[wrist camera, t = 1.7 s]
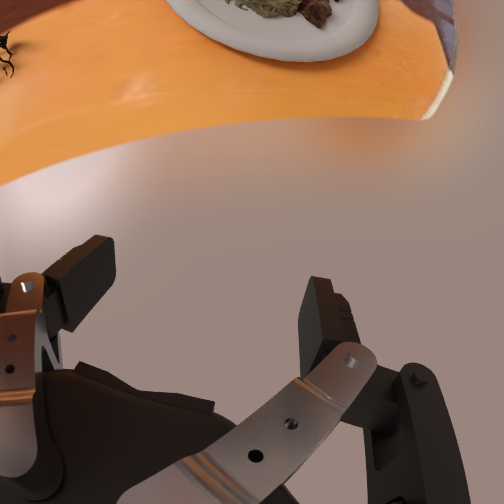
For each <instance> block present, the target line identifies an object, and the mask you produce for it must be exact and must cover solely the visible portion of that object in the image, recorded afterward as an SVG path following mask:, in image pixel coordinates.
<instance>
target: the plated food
mask: <svg viewBox="0 0 504 504" xmlns="http://www.w3.org/2000/svg"><path fill="white" fill-rule="evenodd" d="M166 1H167V2H168V4H169V5H170V6H171V8H172V9H173V11H174V12H175V13H177V14H178V15H179V16H180V17H181V18H182V19H183V20H184V21H185V22H187V23H188V24H189V25H190V26H192V27H193V28H195V29H196V30H198V31H200V32H201V33H203V34H204V35H206V36H207V37H209V38H211V39H213V40H215V41H218V42H220V43H222V44H224V45H227V46H229V47H231V48H233V49H236V50H239V51H243V52H246V53H249V54H252V55H255V56H259V57H264V58H270V59H275V60H281V61H290V62H315V61H324V60H331V59H334V58H337V57H340V56H343V55H347V54H349V53H350V52H352V51H354V50H355V49H357V48H358V47H360V46H362V45H363V44H364V43H365V42H366V41H367V39H368V38H369V37H370V36H371V35H372V33H373V31H374V29H375V27H376V25H377V22H378V15H379V3H378V0H166Z"/></svg>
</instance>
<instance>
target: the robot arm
mask: <svg viewBox="0 0 504 504" xmlns="http://www.w3.org/2000/svg"><path fill="white" fill-rule="evenodd" d="M115 277H116V265H115V249H114V241H113V239H112V238H110V237H105V236H100V235H94V236H93V237H91V238H90V239H89V240H87V241H86V242H85V243H84V244H82V245H79V246H77V247H74V248H73V249H71V250H70V251H69V252H68V253H66V255H64V256H63V257H61V258H60V260H57V261H56V262H55V263H54V264H52V265H51V266H50V267H49V268H48V269H46V270H45V271H44V272H43V273H42V274H39V273H35V272H31V273H30V272H29V273H25V274H22V275H20V276H18V277H17V278H16V279H15V280H14V281H13V282H12V283H2V282H1V278H0V504H299V502H298V501H297V500H296V499H295V498H294V496H293V495H292V494H291V493H290V491H288V489H287V488H286V486H285V485H284V484H285V483H286V482H287V481H288V480H289V479H290V478H291V477H292V476H293V475H294V474H295V473H296V472H297V471H298V469H300V467H301V466H302V465H303V464H304V463H305V462H306V461H307V460H308V459H309V457H310V456H311V455H312V454H313V453H314V452H315V450H316V449H317V448H318V447H319V446H320V445H321V444H322V442H323V441H324V440H325V439H326V438H327V437H328V435H329V434H330V433H331V432H332V431H333V429H334V428H335V427H336V426H337V424H338V423H339V422H340V421H342V422H345V423H348V424H351V425H354V426H358V427H361V428H363V433H364V444H365V456H366V471H367V489H368V504H471V502H470V496H469V490H468V485H467V480H466V476H465V471H464V467H463V462H462V458H461V454H460V451H459V447H458V443H457V439H456V436H455V432H454V429H453V426H452V422H451V419H450V416H449V413H448V410H447V407H446V404H445V401H444V398H443V395H442V392H441V389H440V387H439V384H438V381H437V379H436V376H435V375H434V373H432V371H431V370H429V369H428V368H427V367H425V366H424V365H421V364H418V363H408V364H406V365H404V366H403V367H402V369H401V371H400V372H397V371H394V370H391V369H388V368H385V367H382V366H379V365H378V364H377V360H376V357H375V355H374V354H373V353H372V351H371V350H369V349H368V348H367V347H365V346H363V345H361V342H360V338H359V335H358V332H357V328H356V325H355V322H354V321H353V319H354V318H353V315H352V313H351V309H350V306H349V303H348V301H347V300H346V299H345V298H344V297H343V296H342V294H338V293H334V290H333V286H332V283H331V280H330V279H326V278H320V277H314V276H311V277H310V279H309V282H308V285H307V289H306V292H305V295H304V298H303V302H302V305H301V308H300V312H299V318H298V333H299V353H300V376H301V378H300V377H297V378H295V379H294V380H292V381H291V382H290V383H289V384H288V385H286V386H285V387H284V388H283V389H282V390H281V391H280V392H278V393H277V394H276V395H275V396H274V397H273V398H271V399H270V400H269V401H268V402H266V403H265V404H264V405H263V406H262V407H260V408H259V409H258V410H257V411H255V412H254V413H253V414H252V415H250V416H249V417H248V418H246V419H245V420H244V421H243V422H242V423H240V424H239V425H235V424H234V423H233V422H231V421H230V420H228V419H227V418H225V417H223V416H221V415H219V414H217V413H215V412H214V405H215V402H214V401H210V400H205V399H200V398H196V397H191V396H187V395H183V394H179V393H165V392H150V391H140V390H137V389H135V388H133V387H131V386H130V385H128V384H126V383H125V382H123V381H122V380H120V379H118V378H117V377H115V376H114V375H112V374H111V373H109V372H107V371H104V370H101V369H99V368H96V367H94V366H91V365H89V364H86V363H83V362H81V361H79V363H78V364H77V366H76V367H75V369H74V370H73V369H63V363H62V352H61V340H60V335H59V331H60V329H61V328H62V329H64V330H67V331H69V332H73V331H74V330H75V329H76V328H77V326H78V325H79V324H80V322H81V321H82V320H83V319H84V318H85V316H86V315H87V314H88V313H89V312H90V311H91V309H92V308H93V307H94V306H95V304H96V303H97V302H98V301H99V300H100V299H101V298H102V296H103V295H104V294H105V293H106V292H107V290H108V289H109V288H110V287H111V286H112V285H113V283H114V280H115Z"/></svg>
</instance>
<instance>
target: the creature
mask: <svg viewBox="0 0 504 504" xmlns="http://www.w3.org/2000/svg"><path fill="white" fill-rule="evenodd" d="M9 32H10V31H9ZM9 32H8V33H9ZM8 33H7V34H6V35H5V36H0V42H1V43H0V47H1V48H3V49H6V50H7V52H8V54H10V58H11V56H12V53H11V52H9V51H8V49H7V46H6V44H7V38H8ZM10 58H9V61H6V60H2V58H1V57H0V61H2V62H5V63H9V64H10V66H11V67H12V68H13V73H14V67H13V65H12V63H11V62H10ZM7 65H8V64H7ZM5 67H6V66H5ZM5 67H4V68H3V69H4V70H5ZM5 72H6V70H5ZM13 73H12V75H13ZM6 75H7V72H6ZM11 77H12V76H11ZM11 77H10V78H11Z"/></svg>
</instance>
